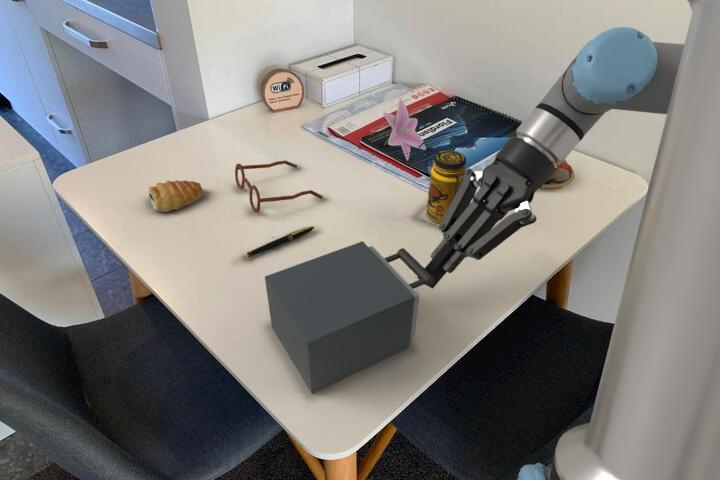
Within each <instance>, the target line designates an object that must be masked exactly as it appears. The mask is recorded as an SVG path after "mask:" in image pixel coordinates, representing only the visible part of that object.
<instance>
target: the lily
mask: <svg viewBox="0 0 720 480" xmlns="http://www.w3.org/2000/svg"><path fill="white" fill-rule="evenodd" d="M408 111H409V110H408V109H407V106H406V104H405V102H404V100H403V99H402V97H399V98H398V105H397V111H396V115H394V114H391V113H389V112H383V116H384V118H385V119H386V121H387V122H388V124H389V125H390V127H391V133H390V136H389V137H388V139H387V140H386V142H385V143H384V144H383V146H386V145H389V146H392V147H393V146H396V147H397V146H400V147H401V149H402V152H403V155H404V157H405V160H406V161H407V162H408V161H409V160H410V155H411V147H413V148H417V149H420V150H426V145H425V143H424V140H423V139H422V137H421V136H420V134H419V132H417V131H416V128H417V127H418V122H419V121H418V118H416V117H410V116H409V112H408ZM422 143H424V144H423V145H422V146H421V147H420V148H419V146H420V145H421V144H422ZM409 152H410V153H409ZM407 153H408V154H407Z"/></svg>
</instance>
